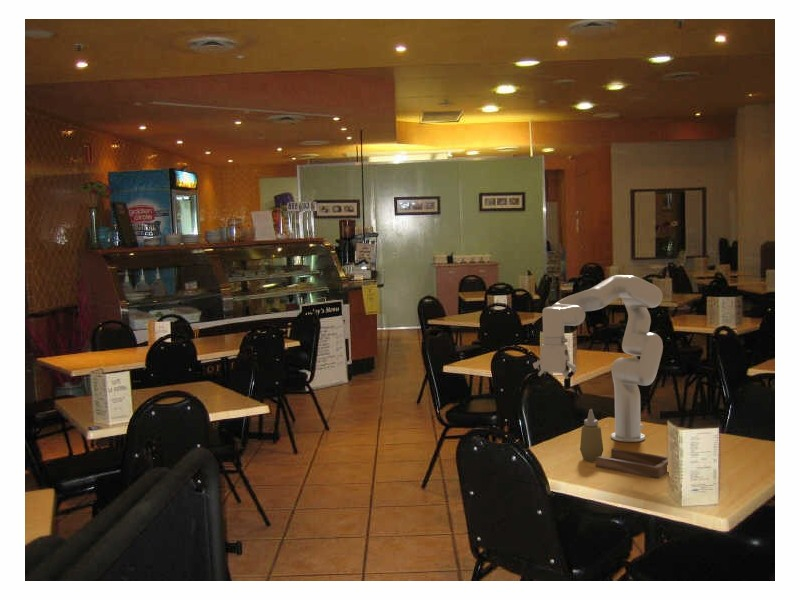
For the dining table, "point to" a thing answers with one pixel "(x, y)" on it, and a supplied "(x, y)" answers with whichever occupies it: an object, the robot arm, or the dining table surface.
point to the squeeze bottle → (591, 439)
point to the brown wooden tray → (634, 463)
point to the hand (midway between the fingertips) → (555, 387)
